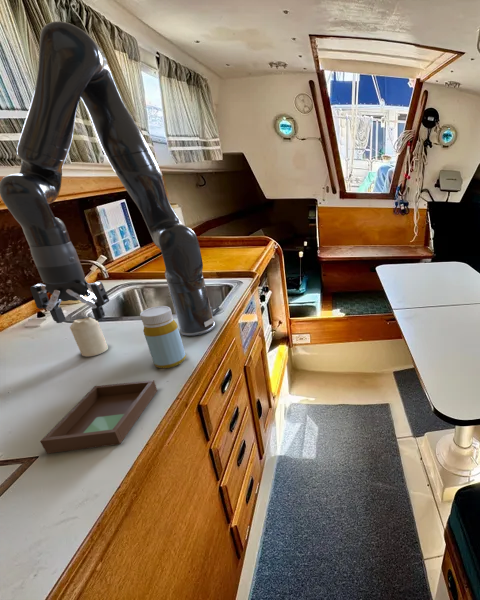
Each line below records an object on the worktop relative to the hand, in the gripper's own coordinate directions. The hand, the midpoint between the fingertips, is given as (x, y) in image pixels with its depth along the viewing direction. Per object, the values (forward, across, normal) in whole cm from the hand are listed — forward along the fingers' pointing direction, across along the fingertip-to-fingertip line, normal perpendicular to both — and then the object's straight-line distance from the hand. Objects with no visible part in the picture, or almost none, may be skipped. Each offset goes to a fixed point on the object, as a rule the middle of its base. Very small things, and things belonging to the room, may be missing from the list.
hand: (81, 320), depth 85 cm
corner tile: (+9, -20, +32) cm, 39 cm away
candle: (+10, 0, 0) cm, 10 cm away
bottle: (+10, -22, +9) cm, 26 cm away
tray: (+10, -18, +29) cm, 35 cm away
